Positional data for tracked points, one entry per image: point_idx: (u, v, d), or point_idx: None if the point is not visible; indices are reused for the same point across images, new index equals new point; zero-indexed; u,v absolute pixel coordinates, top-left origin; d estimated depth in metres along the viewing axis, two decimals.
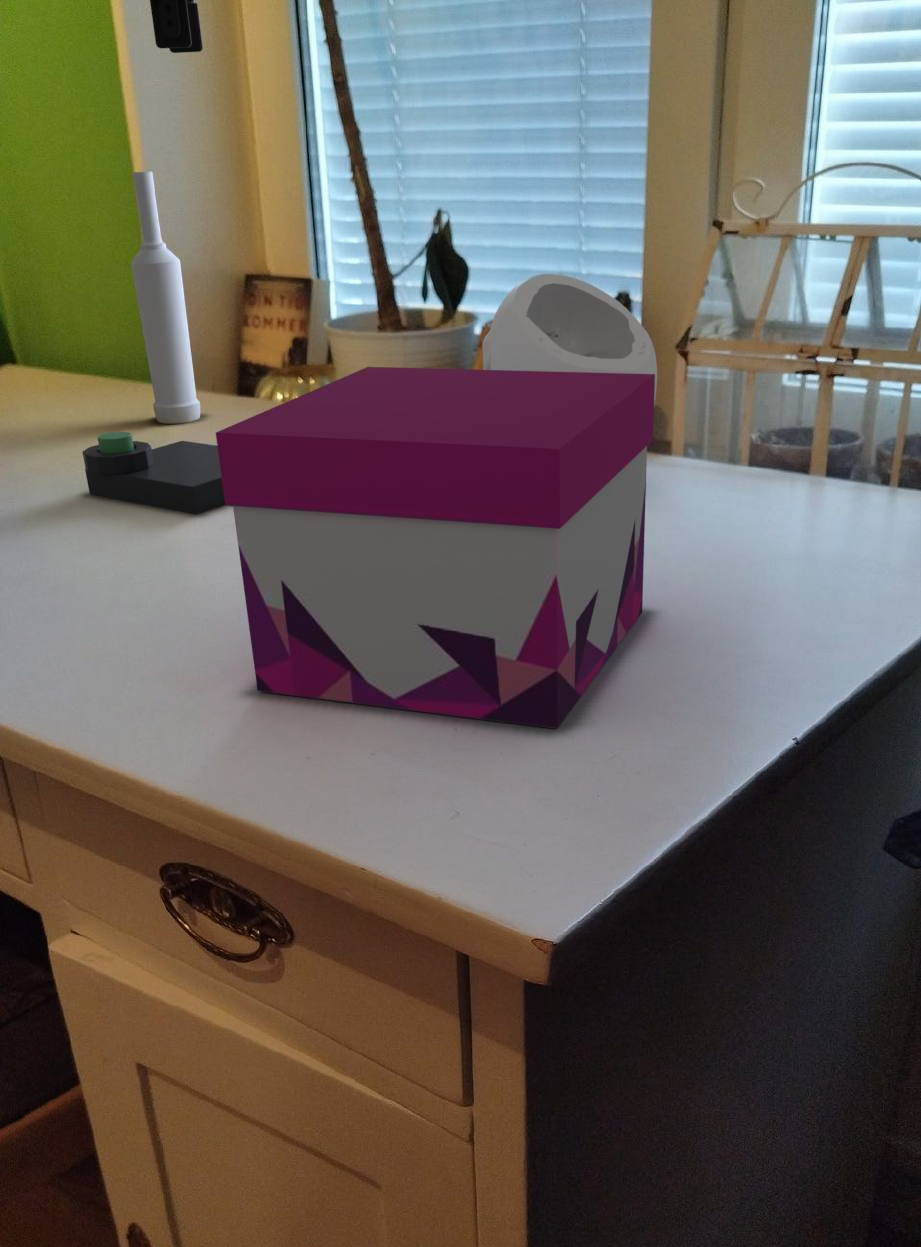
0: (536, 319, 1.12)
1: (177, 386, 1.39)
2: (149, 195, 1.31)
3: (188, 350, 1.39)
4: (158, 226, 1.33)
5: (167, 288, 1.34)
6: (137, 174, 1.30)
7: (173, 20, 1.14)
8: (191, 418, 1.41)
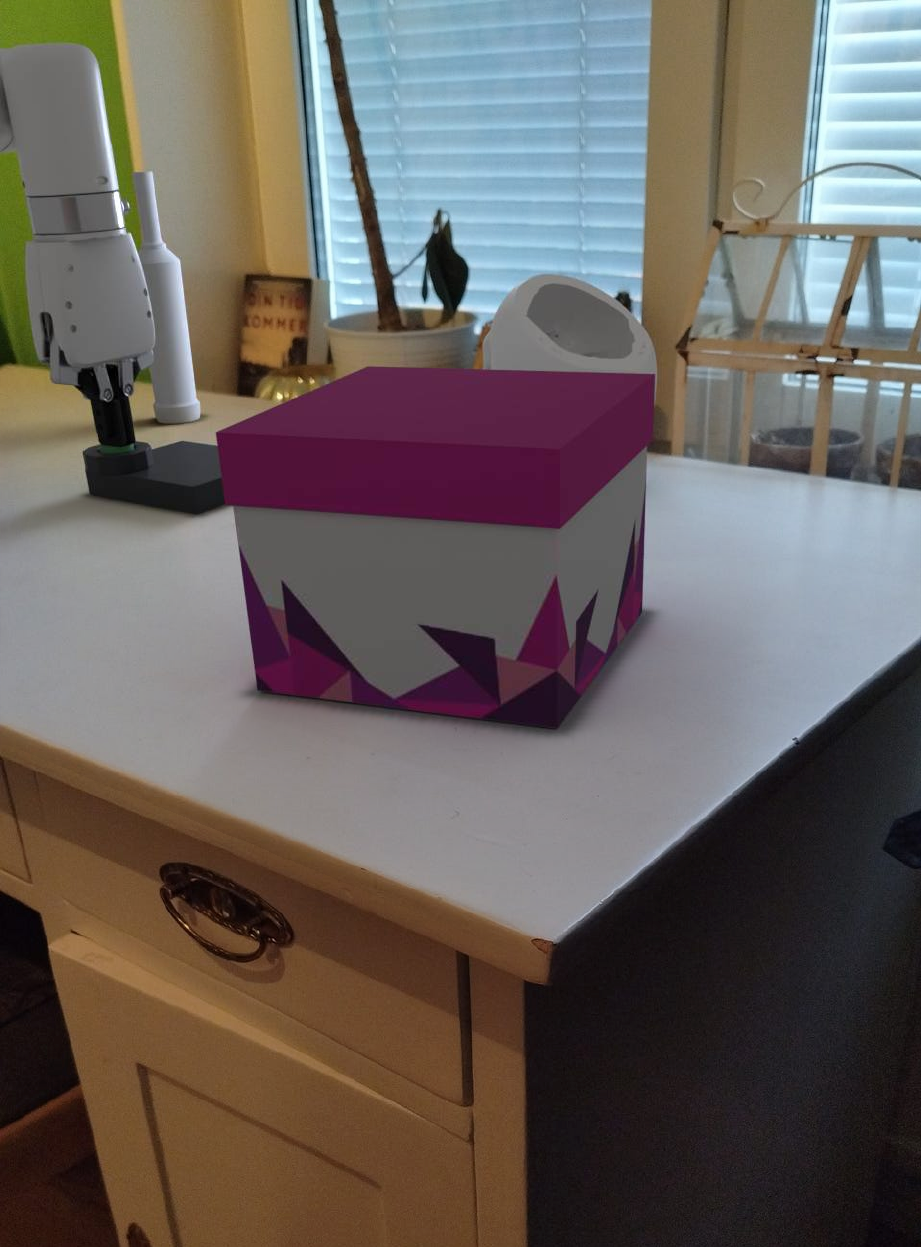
0: (536, 319, 1.12)
1: (177, 386, 1.39)
2: (149, 195, 1.31)
3: (188, 350, 1.39)
4: (158, 226, 1.33)
5: (167, 288, 1.34)
6: (137, 174, 1.30)
7: (103, 424, 1.11)
8: (191, 418, 1.41)
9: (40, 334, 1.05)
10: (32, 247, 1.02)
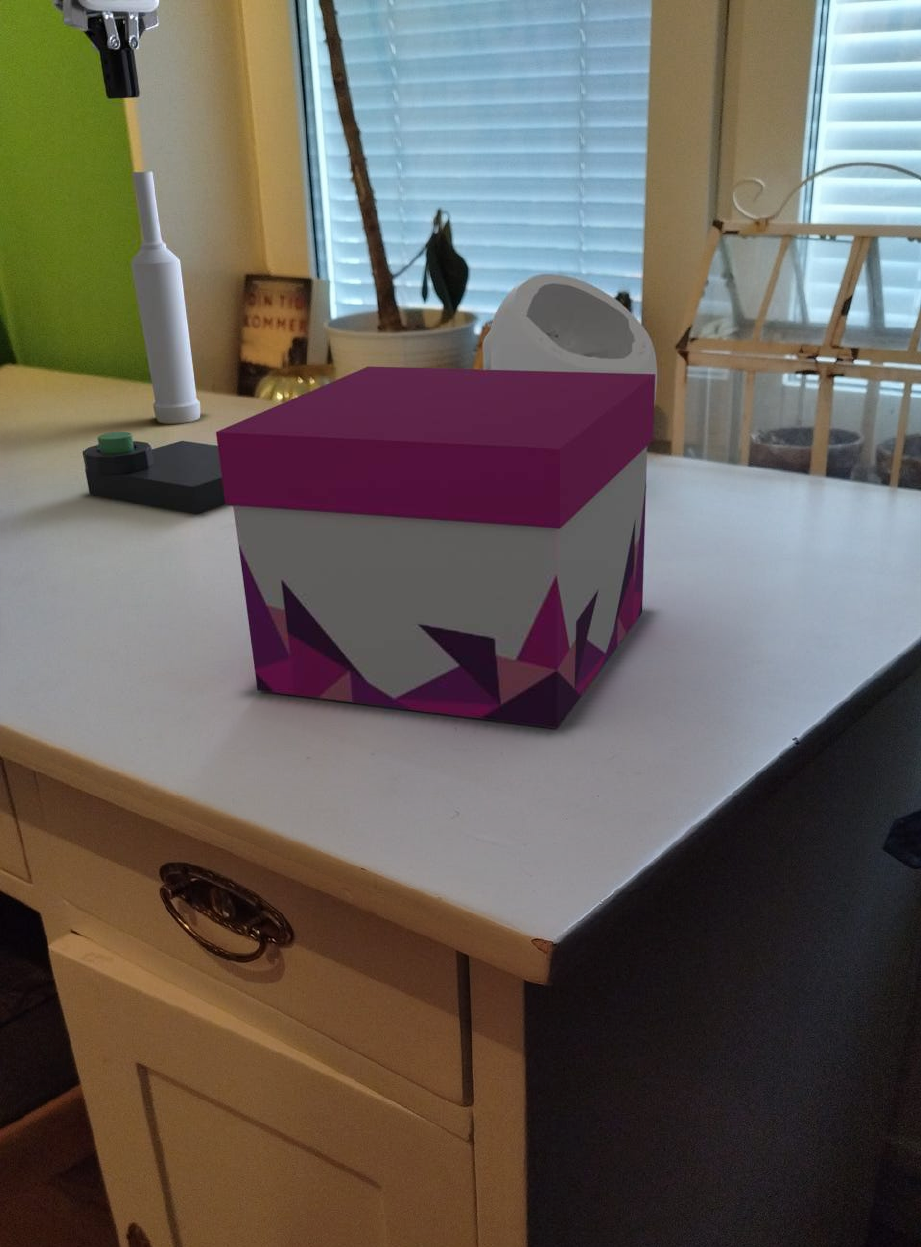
0: (536, 319, 1.12)
1: (177, 386, 1.39)
2: (149, 195, 1.31)
3: (188, 350, 1.39)
4: (158, 226, 1.33)
5: (167, 288, 1.34)
6: (137, 174, 1.30)
7: (110, 73, 1.23)
8: (191, 418, 1.41)
9: None
10: None
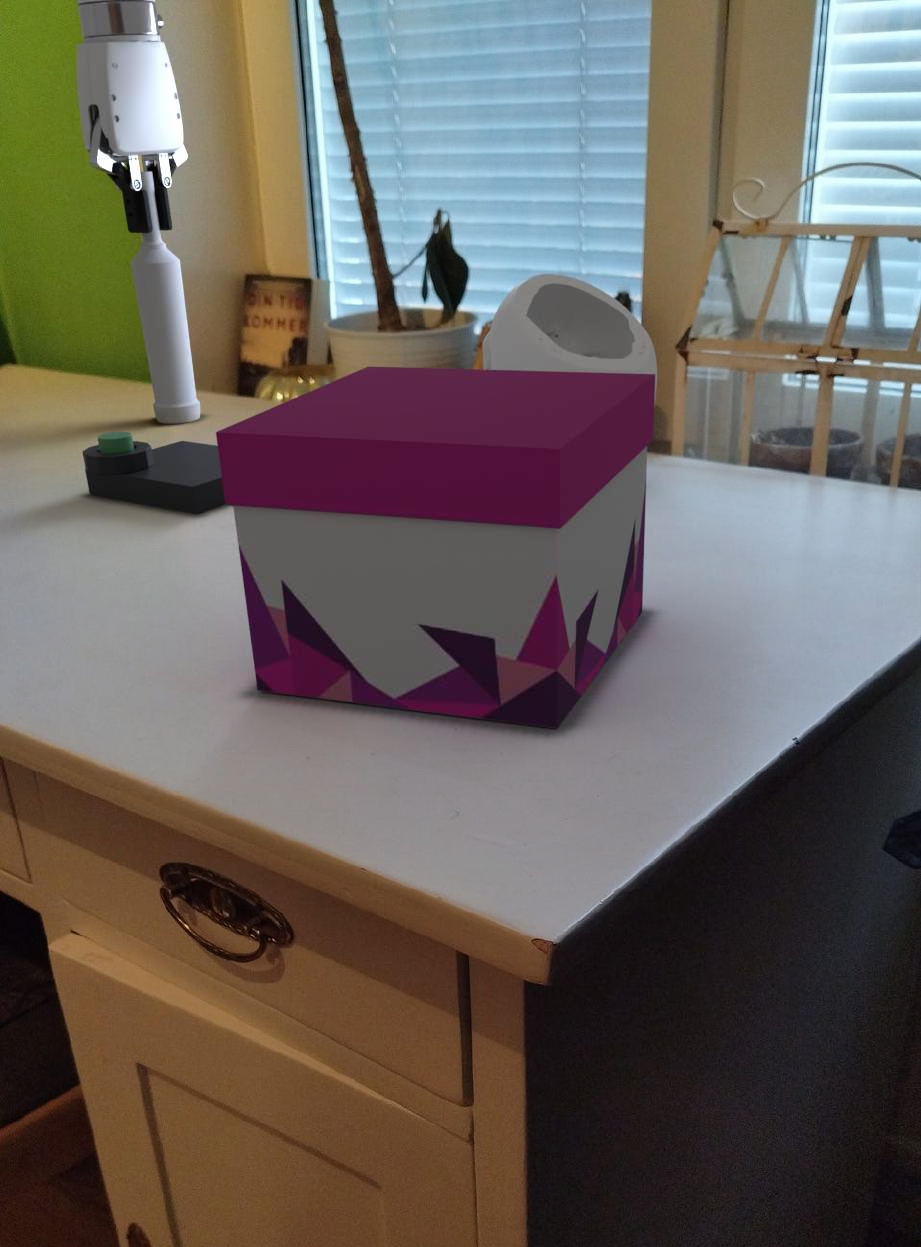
0: (536, 319, 1.12)
1: (177, 386, 1.39)
2: (149, 195, 1.31)
3: (188, 350, 1.39)
4: (158, 226, 1.33)
5: (167, 288, 1.34)
6: None
7: (132, 211, 1.31)
8: (191, 418, 1.41)
9: (88, 125, 1.26)
10: (83, 47, 1.23)
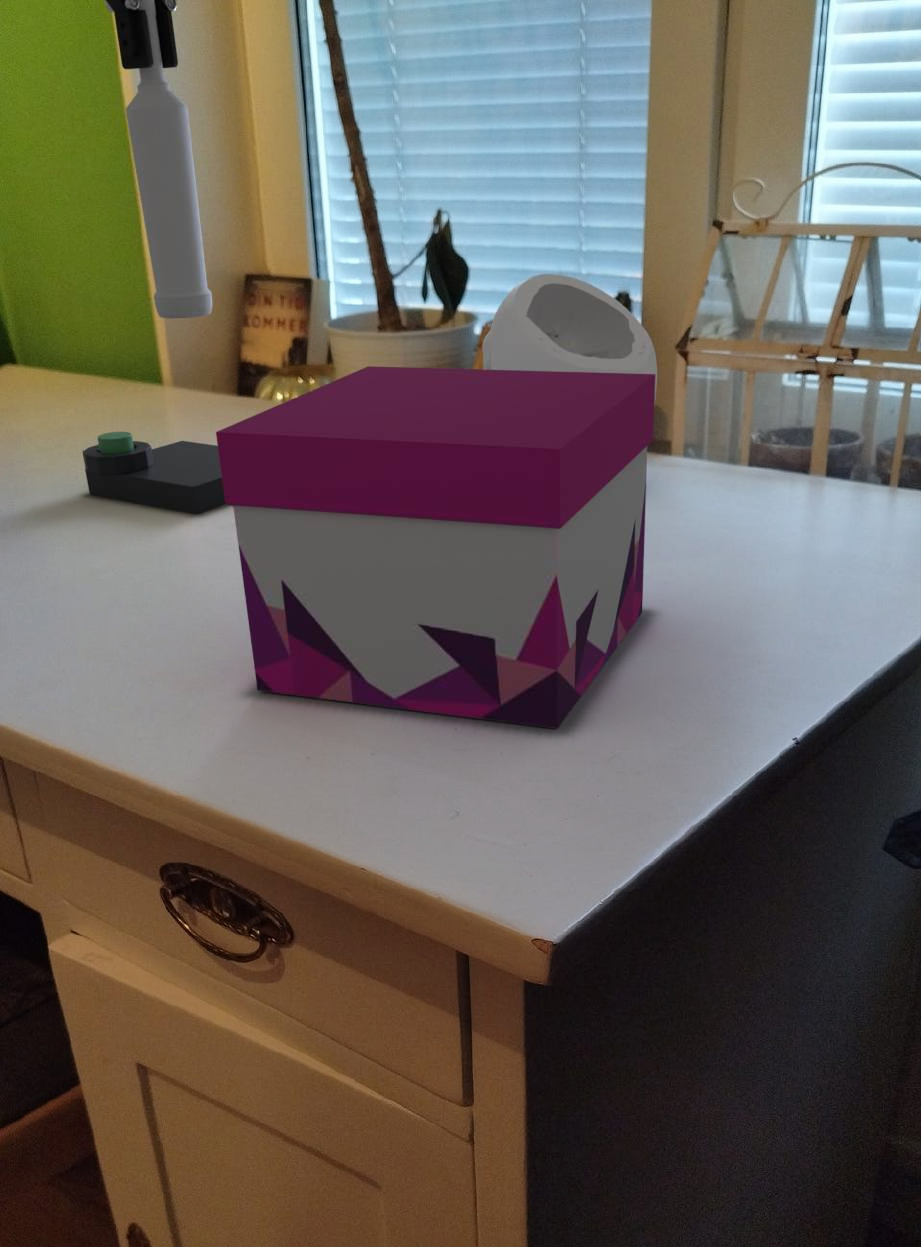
0: (536, 319, 1.12)
1: (185, 270, 1.12)
2: (149, 18, 1.03)
3: (198, 224, 1.11)
4: (160, 61, 1.05)
5: (172, 140, 1.07)
6: None
7: (128, 38, 1.03)
8: (201, 311, 1.14)
9: None
10: None
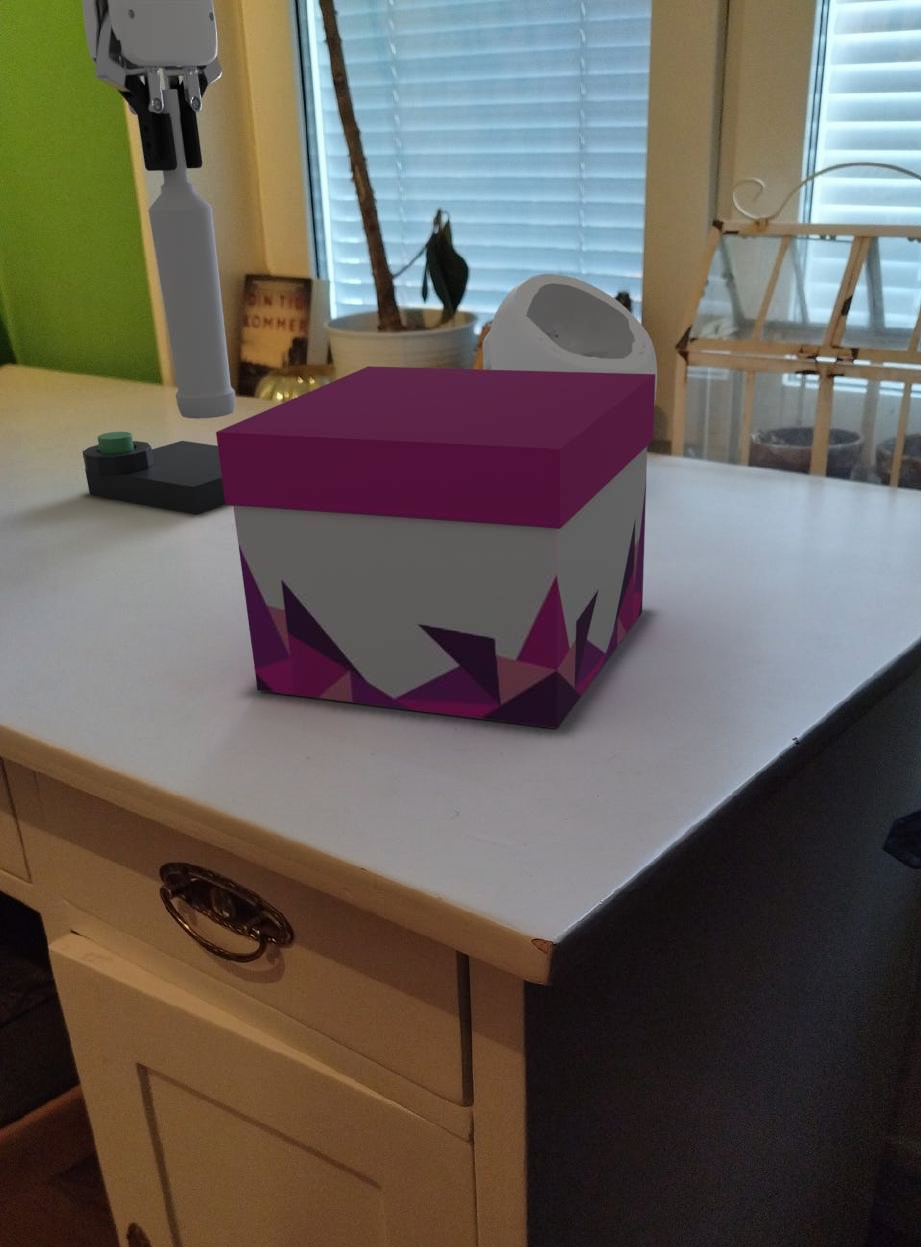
0: (536, 319, 1.12)
1: (208, 371, 1.09)
2: (173, 120, 1.01)
3: (221, 324, 1.08)
4: (184, 162, 1.03)
5: (196, 243, 1.04)
6: None
7: (151, 142, 1.00)
8: (224, 411, 1.11)
9: (94, 23, 0.95)
10: None
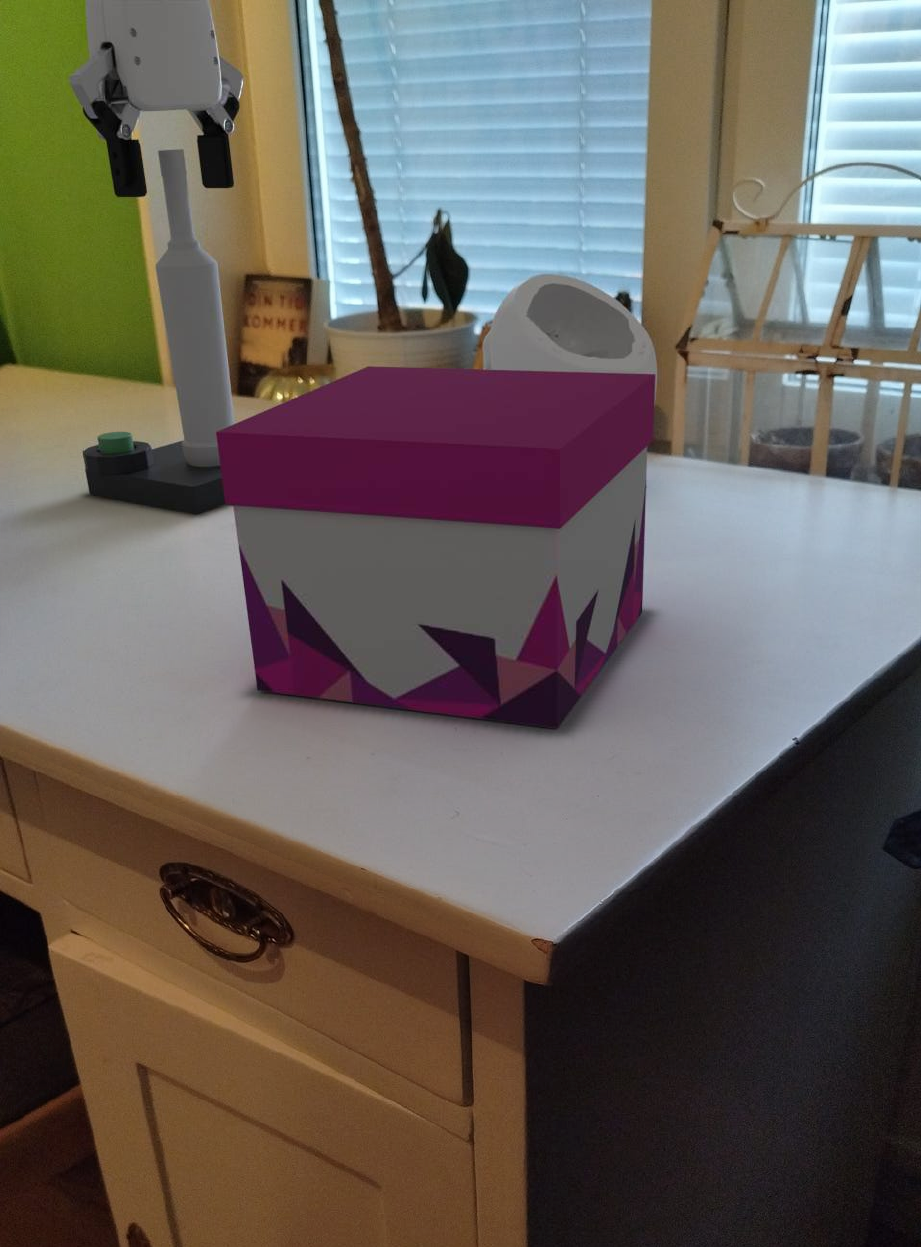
0: (536, 319, 1.12)
1: (213, 421, 1.11)
2: (179, 179, 1.03)
3: (226, 375, 1.11)
4: (190, 219, 1.05)
5: (202, 297, 1.06)
6: (164, 153, 1.02)
7: (120, 168, 0.99)
8: None
9: None
10: None
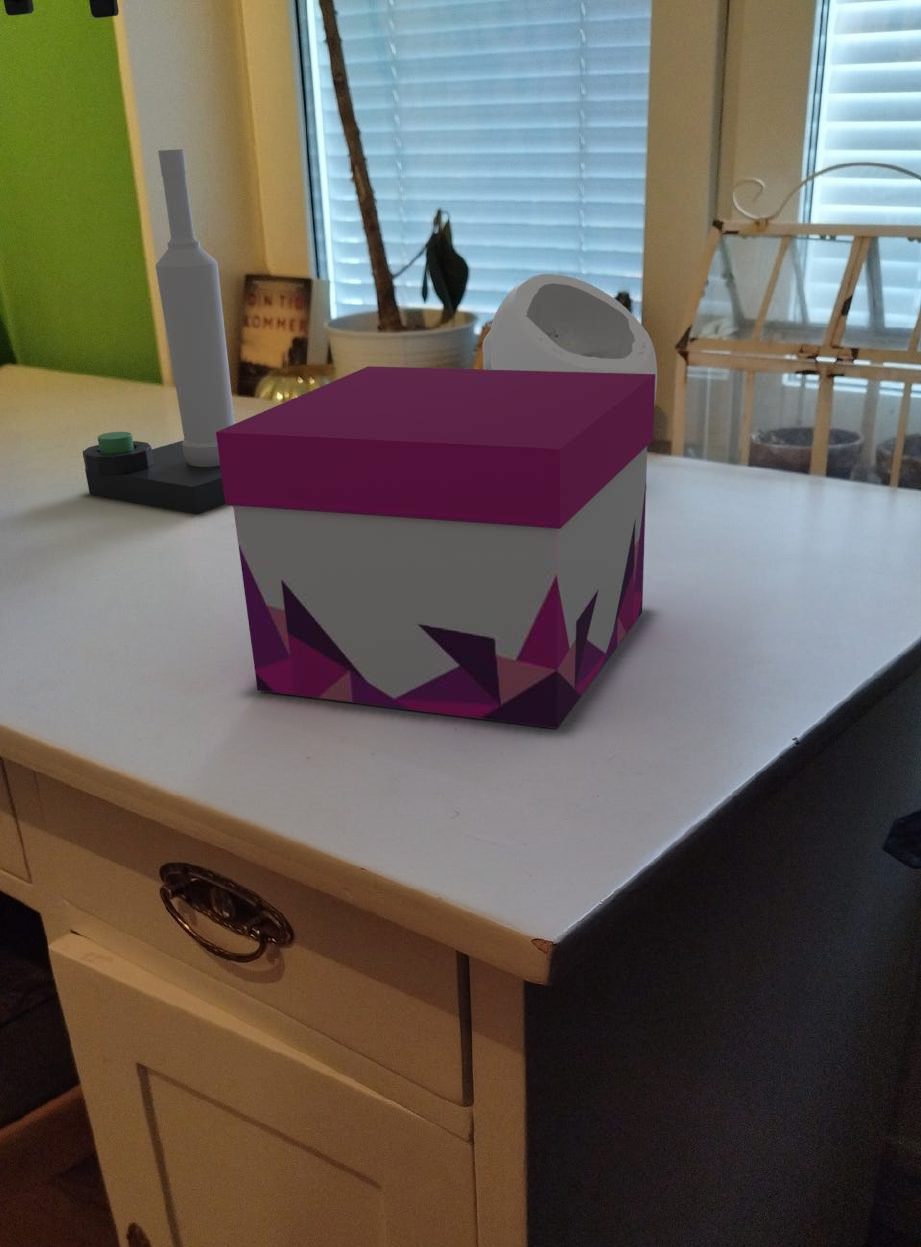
0: (536, 319, 1.12)
1: (213, 421, 1.11)
2: (180, 179, 1.03)
3: (227, 375, 1.11)
4: (190, 219, 1.05)
5: (202, 297, 1.06)
6: (165, 153, 1.02)
7: None
8: None
9: None
10: None
